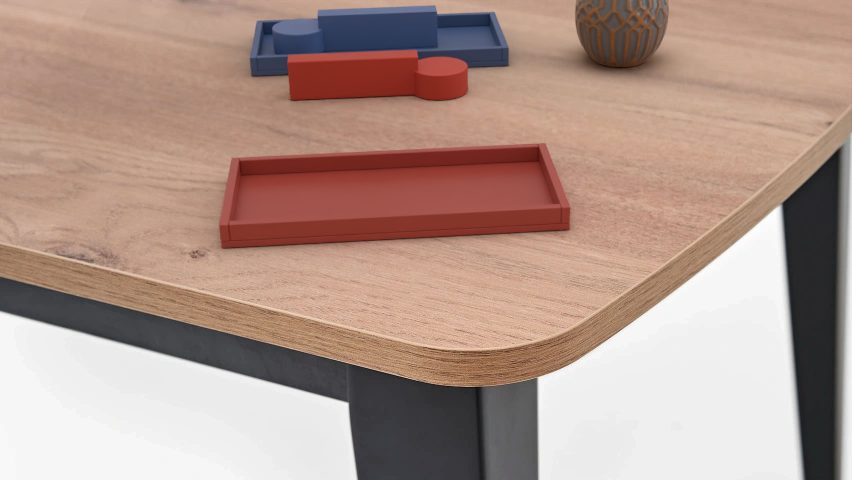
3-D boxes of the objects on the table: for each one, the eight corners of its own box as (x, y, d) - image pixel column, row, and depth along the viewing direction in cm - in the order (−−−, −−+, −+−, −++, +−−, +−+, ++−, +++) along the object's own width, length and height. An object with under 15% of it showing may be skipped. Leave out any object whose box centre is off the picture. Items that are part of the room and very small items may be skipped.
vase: (682, 67, 90) (691, -52, 86) (598, 79, 88) (604, -42, 83) (638, 39, 96) (644, -73, 91) (558, 50, 93) (561, -64, 89)
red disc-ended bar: (289, 106, 83) (286, 68, 82) (291, 86, 87) (288, 48, 86) (470, 99, 84) (470, 60, 83) (465, 79, 88) (464, 42, 87)
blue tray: (251, 76, 89) (249, 57, 88) (258, 37, 97) (256, 20, 96) (508, 65, 90) (508, 47, 90) (494, 28, 98) (494, 11, 98)
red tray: (221, 248, 65) (218, 225, 65) (233, 178, 73) (231, 157, 72) (569, 229, 67) (570, 206, 66) (545, 163, 75) (545, 142, 74)
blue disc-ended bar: (435, 35, 96) (434, 0, 94) (439, 52, 92) (438, 16, 91) (275, 41, 94) (271, 6, 93) (273, 58, 91) (269, 22, 90)
